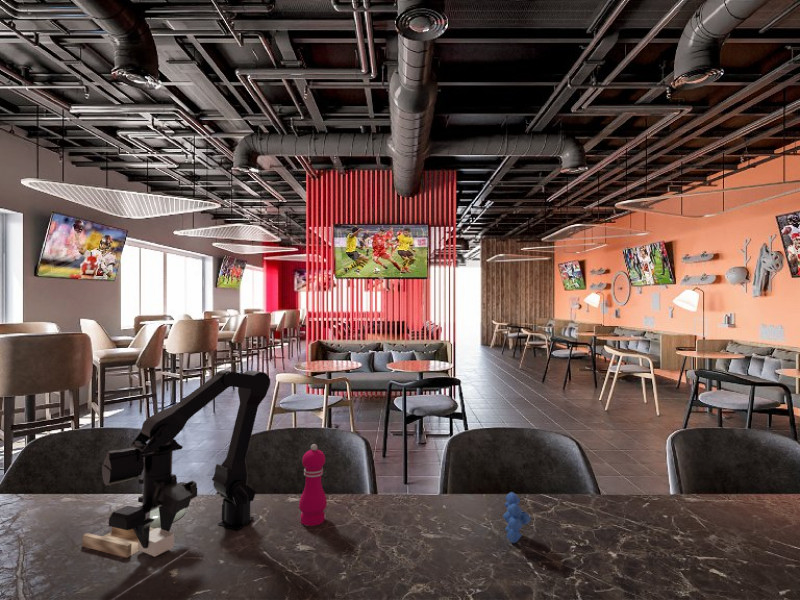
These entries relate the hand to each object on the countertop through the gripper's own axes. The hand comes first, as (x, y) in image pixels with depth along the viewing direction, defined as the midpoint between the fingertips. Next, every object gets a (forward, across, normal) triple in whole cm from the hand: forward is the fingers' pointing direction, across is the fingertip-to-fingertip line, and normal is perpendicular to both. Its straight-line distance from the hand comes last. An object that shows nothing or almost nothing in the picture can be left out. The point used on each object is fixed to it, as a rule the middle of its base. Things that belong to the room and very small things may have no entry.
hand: (155, 542), depth 97 cm
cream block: (+1, 0, 0) cm, 1 cm away
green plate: (+2, +13, +15) cm, 20 cm away
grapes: (+3, +33, -77) cm, 84 cm away
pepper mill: (+3, +26, -25) cm, 36 cm away
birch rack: (+2, 0, +11) cm, 11 cm away
